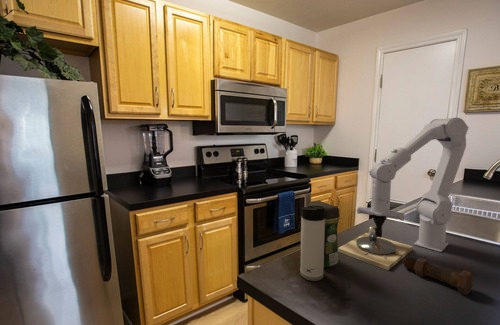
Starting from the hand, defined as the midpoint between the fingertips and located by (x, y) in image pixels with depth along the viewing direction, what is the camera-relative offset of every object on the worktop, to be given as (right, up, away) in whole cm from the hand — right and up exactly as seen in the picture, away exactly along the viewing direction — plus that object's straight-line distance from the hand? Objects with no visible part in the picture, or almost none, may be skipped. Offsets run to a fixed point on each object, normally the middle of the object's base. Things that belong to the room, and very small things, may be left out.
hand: (378, 236), depth 91 cm
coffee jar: (-23, -5, -10) cm, 26 cm away
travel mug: (-28, -6, -18) cm, 34 cm away
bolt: (+5, -6, -20) cm, 22 cm away
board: (-3, -4, -4) cm, 6 cm away
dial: (-3, -2, -4) cm, 5 cm away
